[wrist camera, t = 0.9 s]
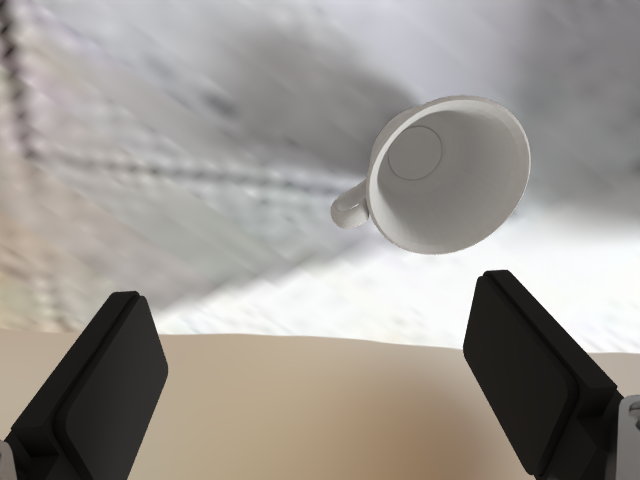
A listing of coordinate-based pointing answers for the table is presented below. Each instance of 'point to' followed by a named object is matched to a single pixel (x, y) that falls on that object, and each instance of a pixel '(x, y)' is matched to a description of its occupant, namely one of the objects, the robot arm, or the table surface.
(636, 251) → the table surface
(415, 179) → the teacup
